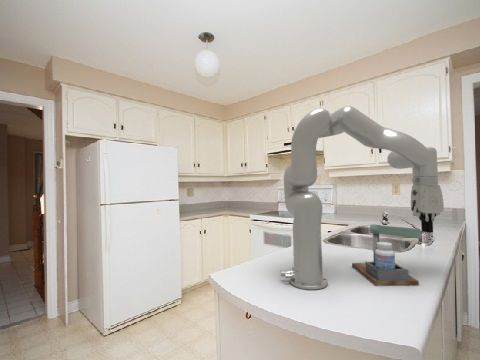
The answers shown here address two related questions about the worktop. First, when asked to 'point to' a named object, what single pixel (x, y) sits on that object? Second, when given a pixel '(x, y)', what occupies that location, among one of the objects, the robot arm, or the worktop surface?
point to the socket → (387, 273)
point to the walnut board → (362, 270)
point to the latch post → (375, 243)
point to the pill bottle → (384, 256)
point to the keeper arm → (395, 231)
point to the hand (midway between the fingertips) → (427, 231)
